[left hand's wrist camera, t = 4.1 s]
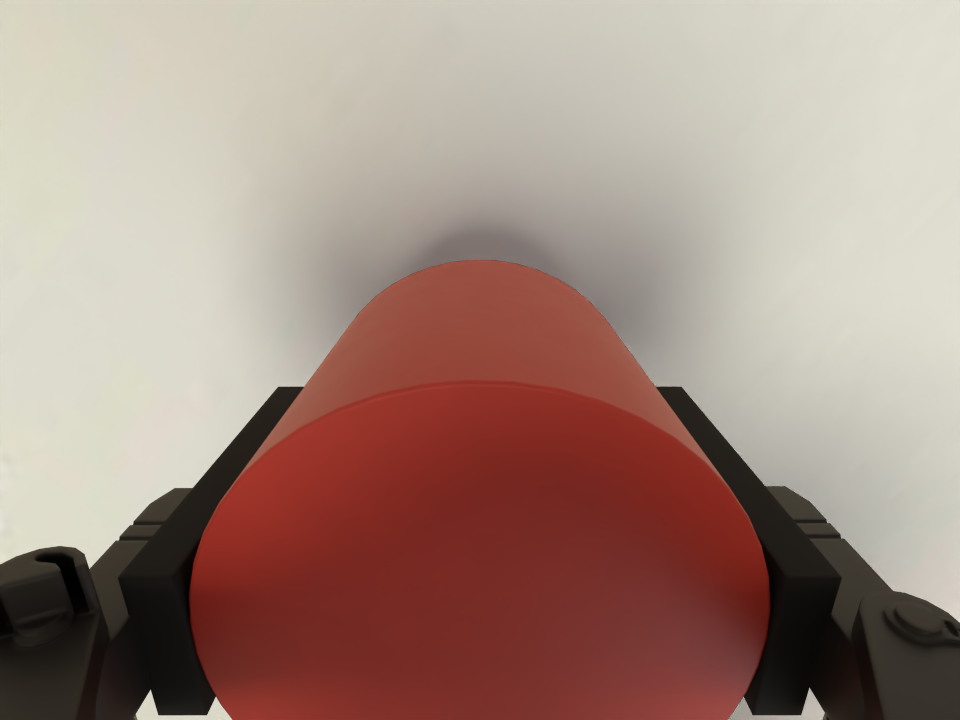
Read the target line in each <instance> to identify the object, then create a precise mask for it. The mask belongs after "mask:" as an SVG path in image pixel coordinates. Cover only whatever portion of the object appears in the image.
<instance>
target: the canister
mask: <svg viewBox="0 0 960 720" xmlns="http://www.w3.org/2000/svg"><path fill="white" fill-rule="evenodd" d="M189 607H190V626H191V631H192V636H193V640H194V645H195V650H196V654H197V656H198V659H199V661H200V664H201V667H202V669H203V672H204V674H205V677H206V679H207V681H208V683H209V685H210V686H211V688H212V690H213V692H214V693H215V695H216V697H217V699H218V700H219V702H220V704H221V705H222V707H223V708H224V709H225V711H226V712H227V713H228V714H229V716H230V717H231V718H232V720H727V719H728V718H729V717H730V716H731V714H732V713H733V711H734V710H735V708H736V707H737V705H738V704H739V702H740V701H741V699H742V698H743V696H744V695H745V693H746V692H747V690H748V688H749V686H750V684H751V681H752V679H753V677H754V675H755V673H756V671H757V669H758V667H759V664H760V661H761V657H762V654H763V650H764V647H765V643H766V640H767V635H768V627H769V618H770V609H771V607H770V590H769V576H768V571H767V567H766V563H765V559H764V555H763V551H762V546H761V544H760V542H759V539H758V537H757V535H756V532H755V530H754V528H753V526H752V523H751V521H750V519H749V516H748V515H747V513H746V512H745V510H744V509H743V507H742V506H741V504H740V503H739V501H738V500H737V498H736V497H735V495H734V493H733V492H732V490H731V489H730V487H729V486H728V485H727V483H726V482H725V481H724V479H723V478H722V477H721V475H720V474H719V472H718V471H717V470H716V468H715V467H714V466H713V464H712V463H711V462H710V460H709V459H708V458H707V456H706V455H705V453H704V452H703V451H702V449H701V448H700V447H699V445H698V444H697V443H696V441H695V440H694V439H693V437H692V436H691V434H690V433H689V432H688V430H687V429H686V428H685V426H684V425H683V424H682V422H681V421H680V420H679V418H678V417H677V415H676V414H675V413H674V411H673V410H672V409H671V407H670V406H669V405H668V403H667V402H666V400H665V399H664V398H663V396H662V395H661V394H660V392H659V391H658V390H657V388H656V387H655V386H654V384H653V383H652V381H651V380H650V379H649V377H648V376H647V375H646V373H645V372H644V371H643V369H642V368H641V367H640V365H639V364H638V362H637V361H636V360H635V358H634V357H633V356H632V354H631V353H630V352H629V350H628V349H627V348H626V346H625V345H624V343H623V342H622V341H621V339H620V338H619V337H618V335H617V334H616V333H615V331H614V330H613V328H612V327H611V326H610V324H609V323H608V322H607V320H606V319H605V318H604V317H603V316H602V314H601V313H600V312H599V311H598V310H597V309H596V308H595V307H594V306H593V304H592V303H590V302H589V301H588V300H587V299H586V298H584V297H583V296H582V295H581V294H580V293H579V292H577V291H576V290H575V289H573V288H571V287H570V286H568V285H567V284H565V283H563V282H562V281H560V280H559V279H557V278H555V277H552V276H550V275H548V274H546V273H544V272H541V271H539V270H536V269H533V268H529V267H526V266H523V265H519V264H515V263H509V262H502V261H496V260H467V261H457V262H450V263H446V264H441V265H437V266H433V267H429V268H427V269H424V270H421V271H419V272H416V273H414V274H411V275H409V276H407V277H405V278H403V279H402V280H400V281H398V282H396V283H394V284H392V285H391V286H390V287H388V288H387V289H385V290H384V291H383V292H381V293H380V294H379V295H377V296H376V297H375V298H374V299H373V300H372V301H371V302H370V303H369V304H368V305H366V306H365V307H364V308H363V309H362V310H361V311H360V313H359V314H358V315H357V317H356V318H355V319H354V320H353V322H352V323H351V324H350V326H349V327H348V328H347V330H346V331H345V332H344V334H343V335H342V336H341V338H340V339H339V341H338V342H337V343H336V345H335V346H334V347H333V349H332V350H331V351H330V353H329V354H328V355H327V357H326V358H325V360H324V361H323V362H322V364H321V365H320V366H319V368H318V369H317V370H316V372H315V373H314V375H313V376H312V377H311V379H310V380H309V381H308V383H307V384H306V385H305V387H304V388H303V389H302V391H301V392H300V394H299V395H298V396H297V398H296V399H295V400H294V402H293V403H292V404H291V406H290V407H289V408H288V410H287V411H286V413H285V414H284V415H283V417H282V418H281V419H280V421H279V422H278V423H277V425H276V426H275V428H274V429H273V430H272V432H271V433H270V434H269V436H268V437H267V438H266V440H265V441H264V442H263V444H262V445H261V447H260V448H259V449H258V451H257V452H256V453H255V455H254V456H253V457H252V459H251V460H250V461H249V463H248V464H247V466H246V467H245V468H244V470H243V471H242V472H241V474H240V475H239V476H238V478H237V479H236V481H235V482H234V483H233V485H232V486H231V487H230V489H229V490H228V491H227V493H226V494H225V495H224V497H223V498H222V500H221V501H220V502H219V504H218V506H217V508H216V510H215V511H214V513H213V515H212V517H211V519H210V521H209V523H208V524H207V526H206V528H205V530H204V532H203V535H202V538H201V541H200V544H199V547H198V550H197V553H196V556H195V559H194V563H193V570H192V577H191V584H190V591H189Z"/></svg>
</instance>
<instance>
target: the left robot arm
mask: <svg viewBox="0 0 960 720" xmlns="http://www.w3.org/2000/svg"><path fill="white" fill-rule="evenodd" d="M303 388H304V387H278V388H277V389H276V390H275V391H274V393H273V394H272V395H271V396H270V397H269V398H268V400H267V401H266V402H265V403H264V404H263V406H262V407H261V408H260V409H259V410H258V412H257V413H256V414H255V415H254V416H253V417H252V419H251V420H250V421H249V422H248V423H247V425H246V426H245V427H244V428H243V429H242V430H241V432H240V433H239V434H238V435H237V436H236V438H235V439H234V440H233V441H232V442H231V444H230V445H229V446H228V447H227V448H226V449H225V451H224V452H223V453H222V454H221V455H220V457H219V458H218V459H217V460H216V461H215V463H214V464H213V465H212V466H211V467H210V468H209V470H208V471H207V472H206V473H205V474H204V476H203V477H202V478H201V479H200V480H199V481H198V483H197V484H196V485H195V486H194V487H193V488H174V489H173V490H171V491H170V492H168V493H166V494H165V495H163V496H162V497H160V498H158V499H157V500H155V501H154V502H152V503H151V504H149V506H148V507H147V508H146V509H145V510H144V511H143V512H142V513H141V514H140V515H139V516H138V517H137V519H136V520H135V521H134V524H133V525H130V526H129V527H128V528H127V529H126V530H125V531H124V533H123V534H122V535H121V536H120V539H119V541H115V542H114V543H113V544H112V545H111V547H110V548H109V549H108V550H107V551H106V552H105V553H104V554H103V555H102V556H101V557H100V558H99V560H98V561H97V562H96V563H95V564H94V565H93V566H92V567H91V568H90V569H89V567H88V564H87V561H86V558H85V554H83V553H82V552H81V551H79V550H78V549H76V548H72V547H63V546H57V547H50V548H43V549H38V550H35V551H32V552H29V553H26V554H23V555H19V556H17V557H15V558H13V559H11V560H9V561H7V562H5V563H3V564H1V565H0V720H137V717H136V712H137V711H138V709H139V708H140V706H141V704H142V703H143V701H144V699H145V698H146V696H147V694H148V693H149V691H150V689H151V692H152V695H153V698H154V702H155V705H156V708H157V712H158V715H207V714H208V712H209V710H210V708H211V705H212V703H213V701H214V699H215V697H216V695H215V693H214V692H213V690H212V688H211V686H210V685H209V683H208V681H207V679H206V677H205V674H204V672H203V669H202V667H201V664H200V661H199V659H198V656H197V654H196V650H195V645H194V640H193V636H192V631H191V626H190V607H189V591H190V584H191V577H192V570H193V563H194V559H195V556H196V553H197V550H198V547H199V544H200V541H201V538H202V535H203V532H204V530H205V528H206V526H207V524H208V523H209V521H210V519H211V517H212V515H213V513H214V511H215V510H216V508H217V506H218V504H219V502H220V501H221V500H222V498H223V497H224V495H225V494H226V493H227V491H228V490H229V489H230V487H231V486H232V485H233V483H234V482H235V481H236V479H237V478H238V476H239V475H240V474H241V472H242V471H243V470H244V468H245V467H246V466H247V464H248V463H249V461H250V460H251V459H252V457H253V456H254V455H255V453H256V452H257V451H258V449H259V448H260V447H261V445H262V444H263V442H264V441H265V440H266V438H267V437H268V436H269V434H270V433H271V432H272V430H273V429H274V428H275V426H276V425H277V423H278V422H279V421H280V419H281V418H282V417H283V415H284V414H285V413H286V411H287V410H288V408H289V407H290V406H291V404H292V403H293V402H294V400H295V399H296V398H297V396H298V395H299V394H300V392H301V391H302V389H303ZM656 388H657V390H658V391H659V392H660V394H661V395H662V396H663V398H664V399H665V400H666V402H667V403H668V405H669V406H670V407H671V409H672V410H673V411H674V413H675V414H676V415H677V417H678V418H679V420H680V421H681V422H682V424H683V425H684V426H685V428H686V429H687V430H688V432H689V433H690V434H691V436H692V437H693V439H694V440H695V441H696V443H697V444H698V445H699V447H700V448H701V449H702V451H703V452H704V453H705V455H706V456H707V458H708V459H709V460H710V462H711V463H712V464H713V466H714V467H715V468H716V470H717V471H718V472H719V474H720V475H721V477H722V478H723V479H724V481H725V482H726V483H727V485H728V486H729V487H730V489H731V490H732V492H733V493H734V495H735V497H736V498H737V500H738V501H739V503H740V504H741V506H742V507H743V509H744V510H745V512H746V513H747V515H748V516H749V519H750V521H751V523H752V526H753V528H754V530H755V532H756V535H757V537H758V539H759V542H760V544H761V546H762V551H763V555H764V559H765V563H766V567H767V571H768V576H769V590H770V607H771V609H770V618H769V627H768V635H767V640H766V643H765V647H764V650H763V654H762V657H761V661H760V664H759V667H758V669H757V671H756V673H755V675H754V677H753V679H752V681H751V684H750V686H749V688H748V690H747V692H746V693H745V695H744V698H745V700H746V702H747V704H748V706H749V708H750V710H751V712H752V715H801V714H802V710H803V707H804V704H805V700H806V697H807V694H808V690H809V687H810V689H811V691H812V692H813V694H814V695H815V697H816V699H817V700H818V702H819V704H820V705H821V707H822V709H823V710H824V712H825V714H824V717H823V720H960V623H959V622H958V621H957V620H956V619H954V618H953V617H952V616H951V615H950V614H949V613H947V612H945V611H944V610H942V609H940V608H938V607H937V606H935V605H933V604H931V603H930V602H928V601H926V600H923V599H920V598H917V597H915V596H912V595H909V594H906V593H902V592H896V591H892V589H891V588H890V587H889V586H888V585H887V584H886V583H885V582H884V581H883V580H882V579H881V578H880V577H879V576H878V574H877V573H876V572H875V571H874V570H873V569H872V568H871V567H870V566H869V565H868V564H867V563H866V562H865V561H864V559H863V558H862V557H861V556H860V555H859V554H858V553H857V552H856V551H855V550H854V549H853V548H852V547H851V545H850V544H849V543H848V542H847V541H846V540H845V539H841V537H840V534H839V533H838V532H837V530H836V529H835V528H834V527H833V526H832V525H831V524H830V523H827V521H826V519H825V518H824V517H823V515H822V514H821V513H820V512H819V511H818V510H817V509H816V508H815V507H814V506H813V505H812V504H811V503H810V502H809V501H808V500H806V499H804V498H803V497H801V496H800V495H798V494H796V493H795V492H793V491H792V490H790V489H788V488H787V487H785V486H764V484H763V483H762V482H761V481H760V480H759V478H758V477H757V476H756V475H755V474H754V472H753V471H752V470H751V469H750V468H749V467H748V465H747V464H746V463H745V462H744V461H743V459H742V458H741V457H740V456H739V455H738V453H737V452H736V451H735V450H734V449H733V448H732V446H731V445H730V444H729V443H728V442H727V440H726V439H725V438H724V437H723V436H722V435H721V433H720V432H719V431H718V430H717V429H716V427H715V426H714V425H713V424H712V423H711V421H710V420H709V419H708V418H707V417H706V416H705V414H704V413H703V412H702V411H701V410H700V408H699V407H698V406H697V405H696V404H695V402H694V401H693V400H692V399H691V398H690V397H689V395H688V394H687V393H686V392H685V391H684V389H683V388H682V387H656Z"/></svg>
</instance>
